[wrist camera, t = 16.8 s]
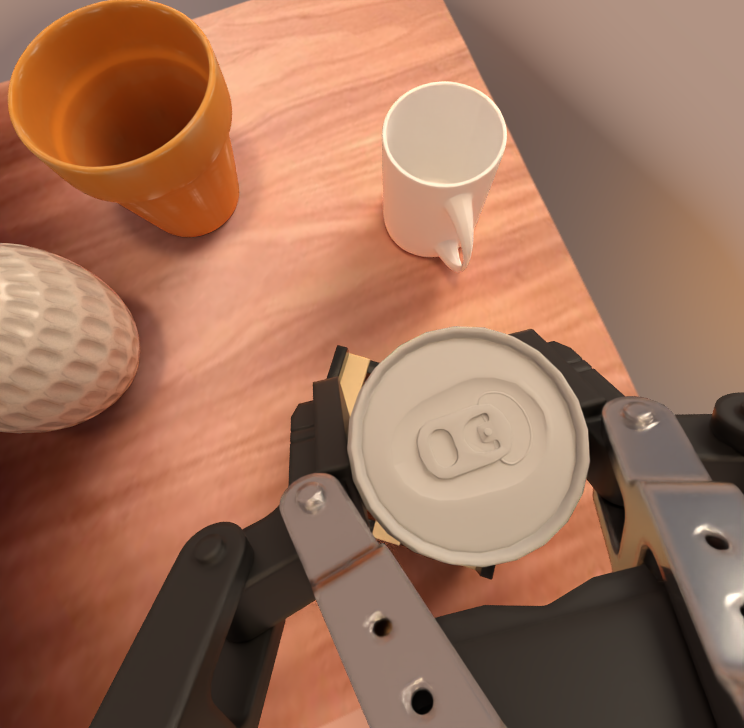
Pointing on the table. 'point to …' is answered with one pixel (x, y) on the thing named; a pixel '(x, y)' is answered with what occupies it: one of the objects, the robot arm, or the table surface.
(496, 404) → the beverage can
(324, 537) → the robot arm
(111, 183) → the flower pot
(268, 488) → the table surface
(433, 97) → the mug
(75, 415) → the vase
